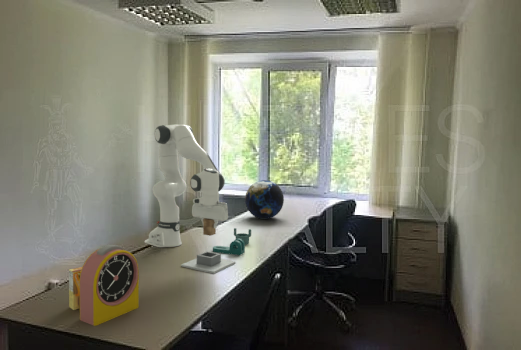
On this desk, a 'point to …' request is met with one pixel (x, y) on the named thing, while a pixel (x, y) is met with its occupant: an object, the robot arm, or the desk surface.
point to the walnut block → (208, 227)
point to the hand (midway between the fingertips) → (209, 227)
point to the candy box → (74, 288)
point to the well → (208, 262)
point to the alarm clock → (108, 285)
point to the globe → (264, 199)
